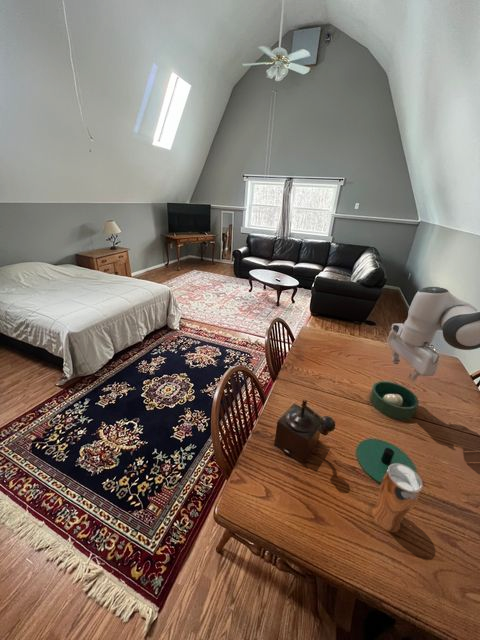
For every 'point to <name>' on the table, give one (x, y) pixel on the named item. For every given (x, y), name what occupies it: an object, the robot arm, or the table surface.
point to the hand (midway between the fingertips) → (403, 370)
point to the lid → (380, 457)
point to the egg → (393, 399)
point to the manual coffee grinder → (301, 431)
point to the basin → (390, 409)
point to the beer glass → (396, 496)
